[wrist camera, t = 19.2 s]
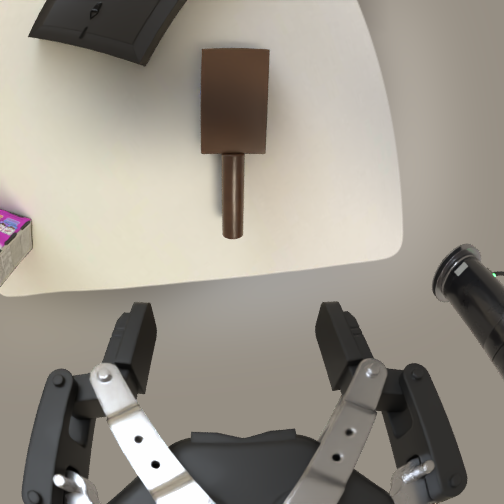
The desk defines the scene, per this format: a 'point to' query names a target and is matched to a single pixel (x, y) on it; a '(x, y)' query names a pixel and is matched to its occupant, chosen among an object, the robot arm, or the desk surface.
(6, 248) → the candy bar box
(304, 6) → the desk surface
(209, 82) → the brush
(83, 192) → the desk surface
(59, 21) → the picture frame
